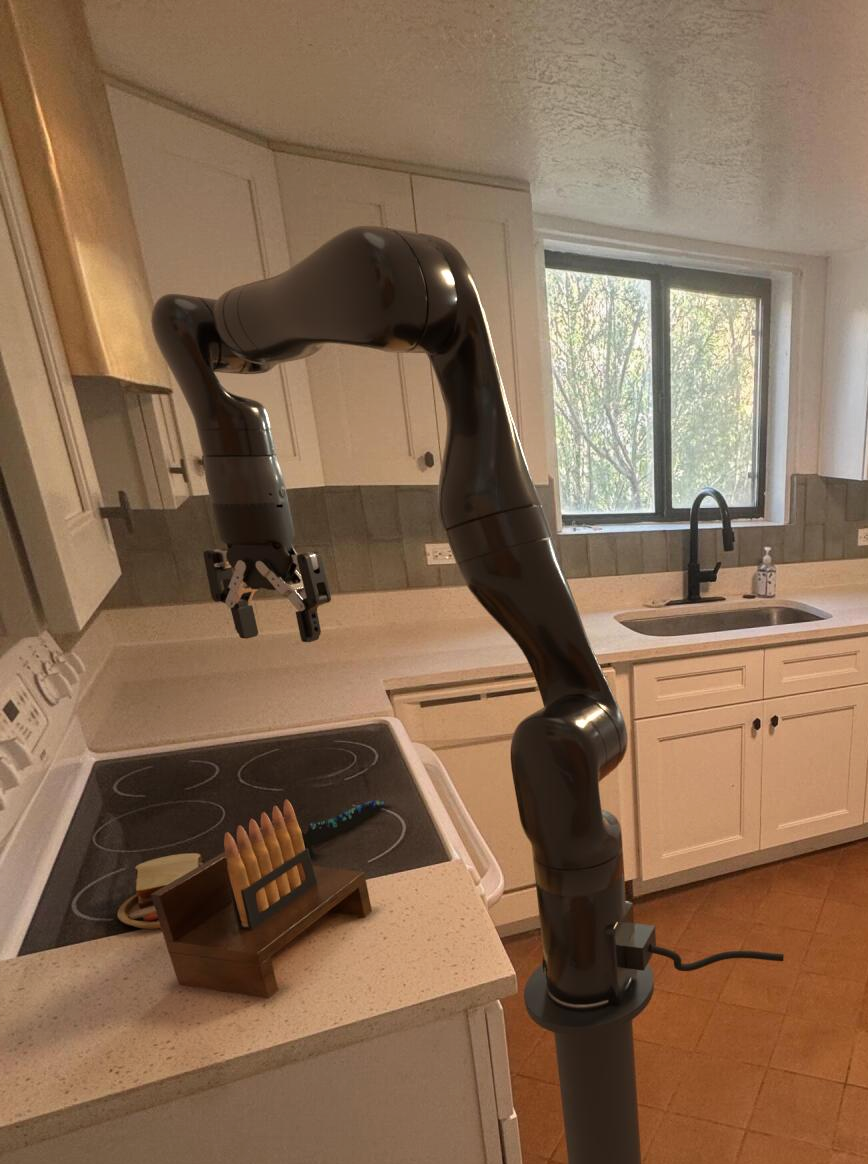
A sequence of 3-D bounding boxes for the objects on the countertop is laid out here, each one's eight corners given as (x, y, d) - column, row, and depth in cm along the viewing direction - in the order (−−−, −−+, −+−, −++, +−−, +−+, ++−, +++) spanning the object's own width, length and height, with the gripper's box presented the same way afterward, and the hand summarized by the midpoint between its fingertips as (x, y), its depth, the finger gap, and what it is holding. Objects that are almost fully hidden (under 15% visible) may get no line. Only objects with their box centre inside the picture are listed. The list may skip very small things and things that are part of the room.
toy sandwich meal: (108, 942, 97) (96, 909, 95) (134, 890, 109) (124, 860, 107) (226, 918, 102) (217, 887, 100) (239, 871, 114) (231, 842, 112)
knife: (236, 893, 106) (232, 862, 104) (219, 889, 106) (215, 858, 105) (399, 819, 134) (398, 795, 133) (385, 817, 135) (383, 792, 133)
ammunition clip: (251, 930, 89) (226, 837, 85) (237, 928, 90) (212, 835, 85) (317, 882, 99) (298, 796, 95) (304, 881, 99) (285, 795, 95)
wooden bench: (372, 911, 104) (356, 830, 100) (268, 998, 87) (244, 906, 83) (293, 901, 106) (274, 822, 102) (178, 984, 90) (150, 894, 85)
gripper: (167, 499, 86) (203, 643, 92) (279, 501, 84) (309, 649, 89) (223, 495, 93) (253, 629, 99) (328, 497, 90) (353, 635, 96)
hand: (280, 639), depth 94 cm, fingers open, 8 cm apart
